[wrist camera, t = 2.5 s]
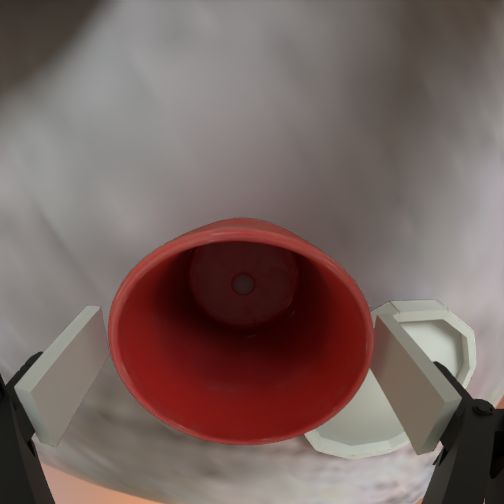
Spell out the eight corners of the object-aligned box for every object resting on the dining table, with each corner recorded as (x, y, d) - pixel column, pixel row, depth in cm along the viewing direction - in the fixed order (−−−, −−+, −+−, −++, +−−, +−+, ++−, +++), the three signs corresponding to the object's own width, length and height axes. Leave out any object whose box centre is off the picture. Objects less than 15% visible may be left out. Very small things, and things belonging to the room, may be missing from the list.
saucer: (310, 301, 22) (316, 313, 20) (486, 297, 22) (498, 305, 20) (286, 451, 26) (288, 465, 25) (431, 430, 27) (437, 441, 25)
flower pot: (242, 369, 23) (242, 472, 14) (131, 270, 21) (64, 347, 11) (353, 280, 21) (417, 360, 12) (244, 157, 19) (243, 157, 10)
